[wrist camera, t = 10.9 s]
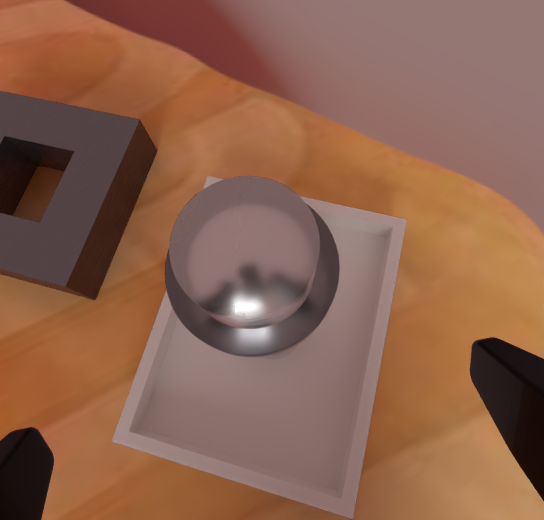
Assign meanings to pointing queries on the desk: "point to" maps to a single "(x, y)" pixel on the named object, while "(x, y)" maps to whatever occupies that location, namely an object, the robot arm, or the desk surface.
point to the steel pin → (251, 267)
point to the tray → (277, 383)
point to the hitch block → (68, 190)
